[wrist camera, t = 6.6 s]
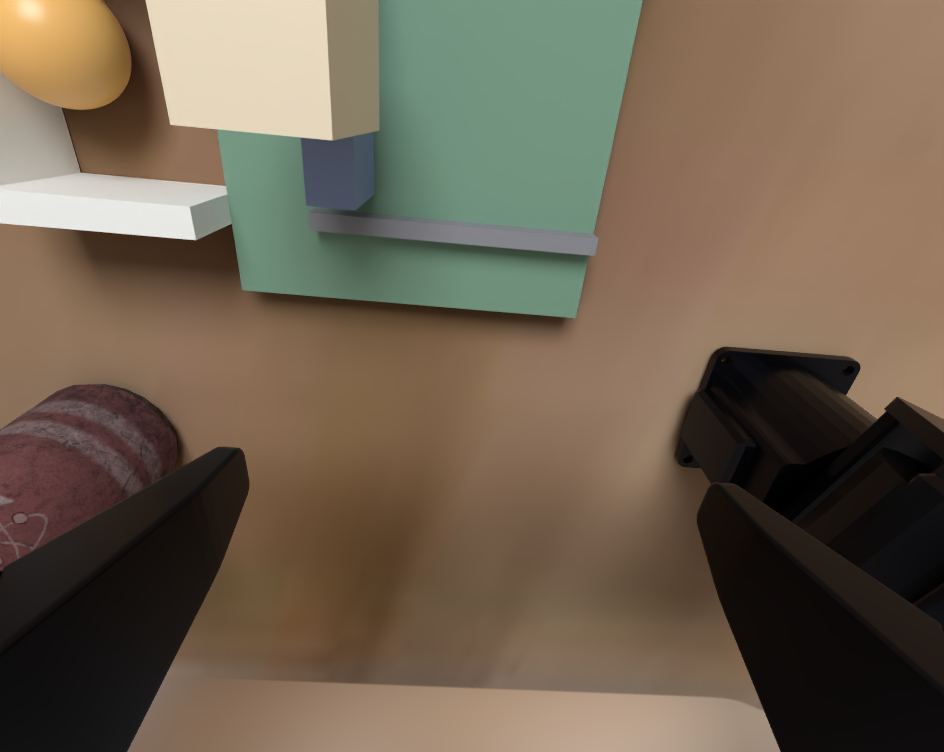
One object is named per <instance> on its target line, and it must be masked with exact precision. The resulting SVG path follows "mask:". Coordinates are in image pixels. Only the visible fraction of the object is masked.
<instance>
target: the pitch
mask: <svg viewBox="0 0 944 752" xmlns="http://www.w3.org/2000/svg"><path fill="white" fill-rule="evenodd" d="M642 2H643V0H379V131H375V132H374V189H375V194H374V195H373V196H372V197H371V198H370V199H368V200H367V201H366V202H365V203H364V204H362V205H361V206H360V207H359V208H358V209H357V210H346V209H335V208H324V207H313V206H306V197H305V185H304V172H303V160H302V148H301V137H291V136H281V135H271V134H261V133H250V132H240V131H230V130H220V129H217V133H218V139H219V145H220V152H221V158H222V164H223V171H224V177H225V183H226V190H227V196H228V203H229V209H230V215H231V222H232V228H233V234H234V241H235V247H236V253H237V260H238V266H239V272H240V279H241V285H242V290H245V291H257V292H269V293H281V294H293V295H305V296H317V297H329V298H341V299H353V300H365V301H377V302H389V303H401V304H413V305H424V306H436V307H448V308H460V309H472V310H484V311H496V312H508V313H520V314H532V315H544V316H556V317H568V318H576V314H577V310H578V305H579V300H580V296H581V291H582V286H583V281H584V277H585V272H586V267H587V262H588V258H589V256H595V254H596V249H597V244H598V240H599V239H598V238H597V237H596V236H595V235H594V229H595V225H596V220H597V215H598V210H599V206H600V201H601V196H602V191H603V187H604V182H605V177H606V172H607V168H608V163H609V158H610V153H611V149H612V144H613V139H614V135H615V130H616V125H617V120H618V116H619V111H620V106H621V101H622V97H623V92H624V87H625V82H626V78H627V73H628V68H629V64H630V59H631V54H632V49H633V45H634V40H635V35H636V30H637V26H638V21H639V16H640V11H641V7H642Z"/></svg>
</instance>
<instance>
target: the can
mask: <svg viewBox="0 0 944 752" xmlns="http://www.w3.org/2000/svg"><path fill="white" fill-rule="evenodd" d="M176 462H177V438H176V435H175V433H174V430H173V428H172V425H171V423H170V422H169V421H168V419H167V418H166V417H165V416H164V415H163V413H162V412H161V411H160V410H159V409H158V408H157V407H155V406H154V405H153V404H151V403H150V402H149V401H148V400H146V399H145V398H144V397H141V396H139V395H137V394H135V393H133V392H131V391H129V390H127V389H124V388H119V387H115V386H110V385H106V384H97V385H73V386H70V387H67V388H65V389H62V390H59V391H57V392H55V393H54V394H52V395H51V396H49V397H48V398H46V399H45V400H44V401H42V402H41V403H39V404H38V405H36V406H35V407H33V408H32V409H30V410H29V411H27V412H26V413H24V414H23V415H21V416H20V417H18V418H17V419H15V420H14V421H12V422H11V423H9V424H8V425H6V426H5V427H3V428H2V429H1V430H0V570H2V571H3V568H4V567H5V566H6V565H8V564H10V563H11V562H13V561H15V560H17V559H19V558H20V557H22V556H24V555H26V554H28V553H29V552H31V551H33V550H35V549H36V548H38V547H40V546H42V545H44V544H45V543H47V542H49V541H51V540H53V539H54V538H56V537H58V536H60V535H61V534H63V533H65V532H67V531H69V530H70V529H72V528H74V527H76V526H78V525H79V524H81V523H83V522H85V521H86V520H88V519H90V518H92V517H94V516H95V515H97V514H99V513H101V512H103V511H104V510H106V509H108V508H110V507H111V506H113V505H115V504H117V503H119V502H120V501H122V500H124V499H126V498H127V497H129V496H131V495H133V494H135V493H136V492H138V491H140V490H142V489H144V488H145V487H147V486H149V485H151V484H152V483H154V482H156V481H158V480H160V479H161V478H163V477H165V476H167V475H168V474H170V473H171V472H172V470H173V468H174V466H175V464H176Z"/></svg>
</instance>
